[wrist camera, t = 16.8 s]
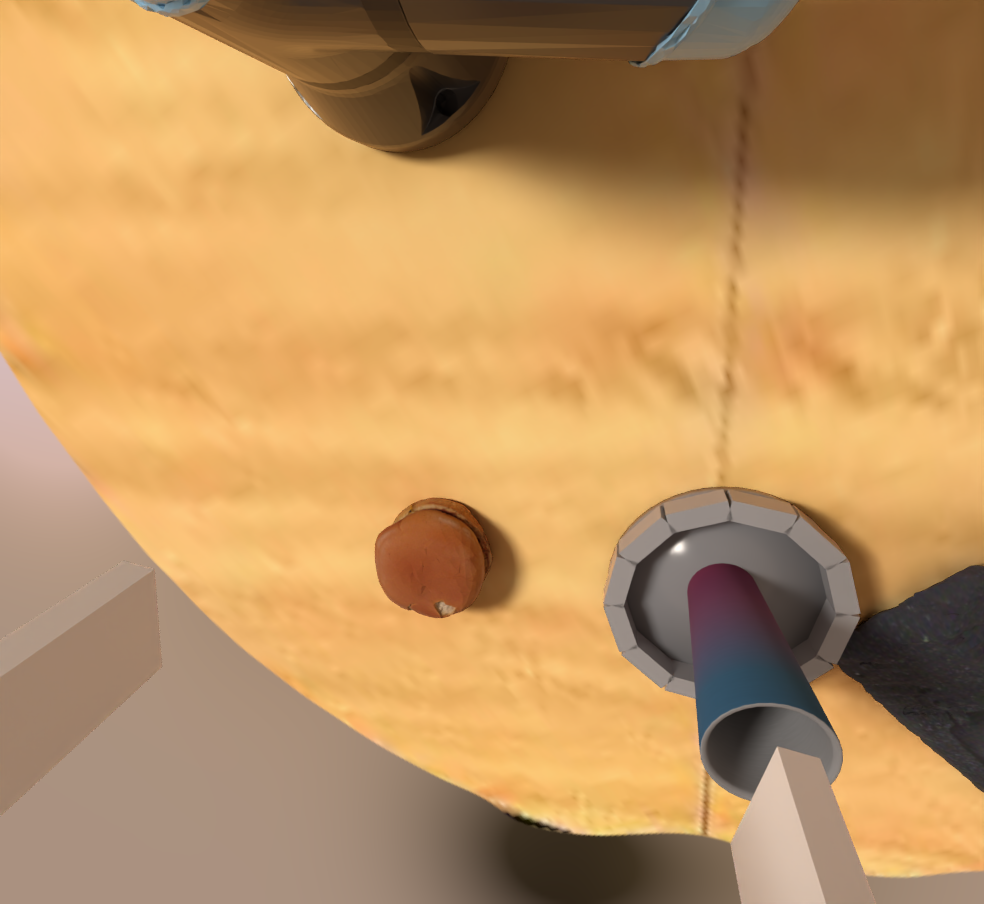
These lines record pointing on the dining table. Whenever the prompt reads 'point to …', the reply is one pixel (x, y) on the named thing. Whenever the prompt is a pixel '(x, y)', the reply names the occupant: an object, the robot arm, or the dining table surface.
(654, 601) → the tray
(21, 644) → the robot arm
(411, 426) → the dining table surface
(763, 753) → the cup
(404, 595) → the burger
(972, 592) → the dark slate chunk
